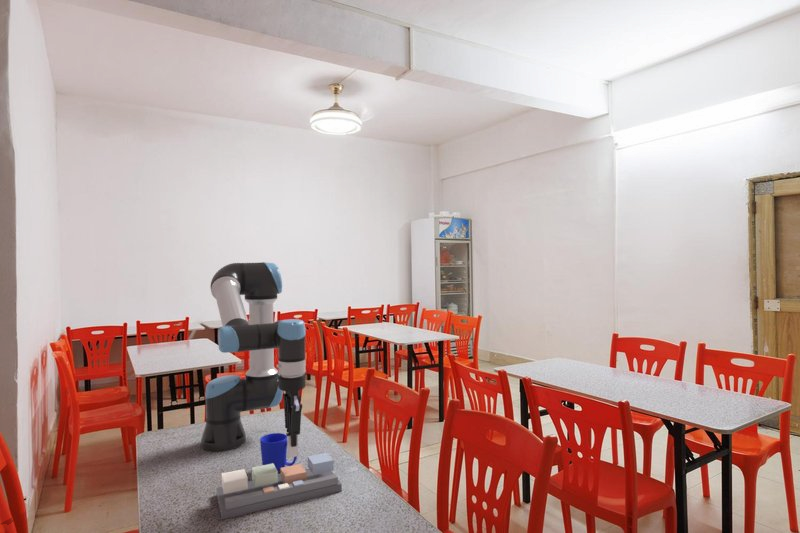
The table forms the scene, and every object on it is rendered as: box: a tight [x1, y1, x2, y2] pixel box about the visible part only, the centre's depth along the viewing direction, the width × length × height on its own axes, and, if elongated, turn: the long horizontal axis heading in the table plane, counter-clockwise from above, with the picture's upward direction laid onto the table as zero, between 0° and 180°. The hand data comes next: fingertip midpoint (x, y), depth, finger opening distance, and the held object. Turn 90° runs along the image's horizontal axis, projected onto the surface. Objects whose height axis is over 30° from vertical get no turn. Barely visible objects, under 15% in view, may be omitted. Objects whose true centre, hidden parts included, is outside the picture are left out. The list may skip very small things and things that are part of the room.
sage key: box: [251, 463, 279, 487], centre depth 132 cm, size 6×6×3 cm
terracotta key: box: [280, 463, 307, 484], centre depth 136 cm, size 6×6×3 cm
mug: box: [259, 432, 298, 473], centre depth 149 cm, size 8×12×10 cm
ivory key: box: [220, 468, 249, 494], centre depth 129 cm, size 6×6×3 cm
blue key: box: [307, 452, 335, 475], centre depth 139 cm, size 6×6×3 cm
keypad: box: [215, 468, 343, 520], centre depth 134 cm, size 14×32×4 cm, turn 116°
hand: (292, 455), depth 136 cm, fingers closed
